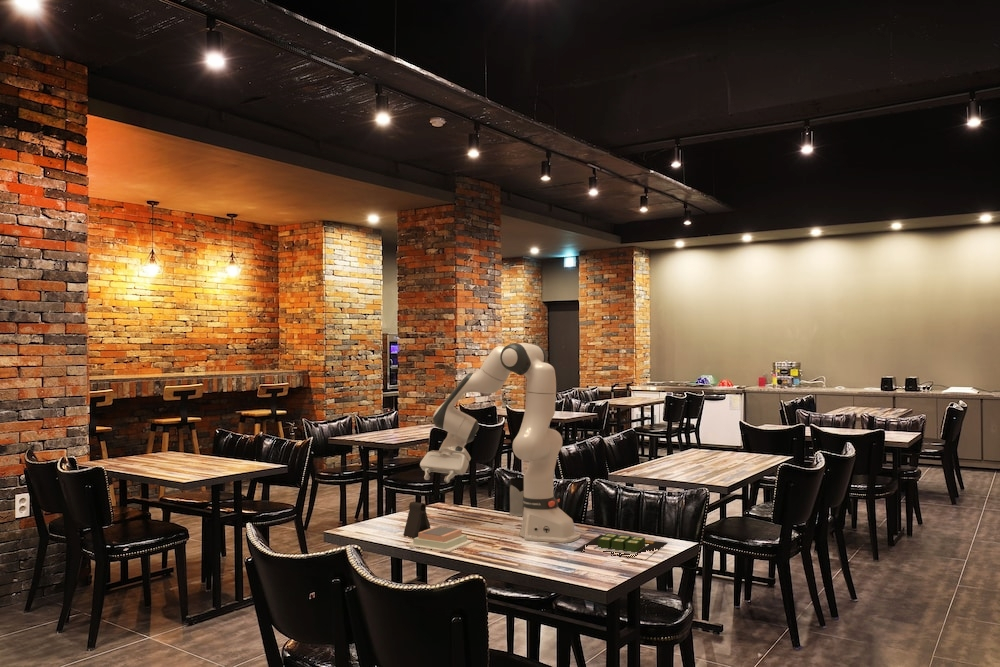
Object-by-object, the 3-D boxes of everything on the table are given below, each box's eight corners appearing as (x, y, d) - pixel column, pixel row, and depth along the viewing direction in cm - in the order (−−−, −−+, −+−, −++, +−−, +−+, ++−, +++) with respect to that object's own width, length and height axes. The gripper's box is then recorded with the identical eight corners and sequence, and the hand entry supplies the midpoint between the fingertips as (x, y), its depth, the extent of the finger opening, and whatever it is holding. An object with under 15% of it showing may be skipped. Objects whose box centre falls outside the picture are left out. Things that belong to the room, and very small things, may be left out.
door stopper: (420, 531, 281) (420, 499, 281) (432, 533, 277) (431, 501, 277) (403, 536, 274) (403, 503, 274) (414, 538, 270) (414, 505, 270)
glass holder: (504, 514, 310) (504, 478, 311) (532, 510, 318) (531, 475, 319) (516, 517, 303) (516, 481, 304) (544, 513, 311) (544, 477, 311)
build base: (473, 541, 264) (473, 528, 265) (448, 552, 251) (448, 538, 251) (432, 536, 273) (432, 523, 274) (406, 545, 260) (406, 532, 260)
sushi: (667, 545, 260) (667, 534, 261) (645, 562, 239) (645, 551, 239) (600, 537, 273) (600, 526, 273) (574, 553, 251) (573, 542, 251)
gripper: (425, 445, 299) (411, 472, 290) (468, 448, 289) (454, 477, 280) (432, 454, 303) (417, 482, 294) (474, 458, 293) (460, 487, 284)
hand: (436, 480), depth 287 cm, fingers open, 8 cm apart
